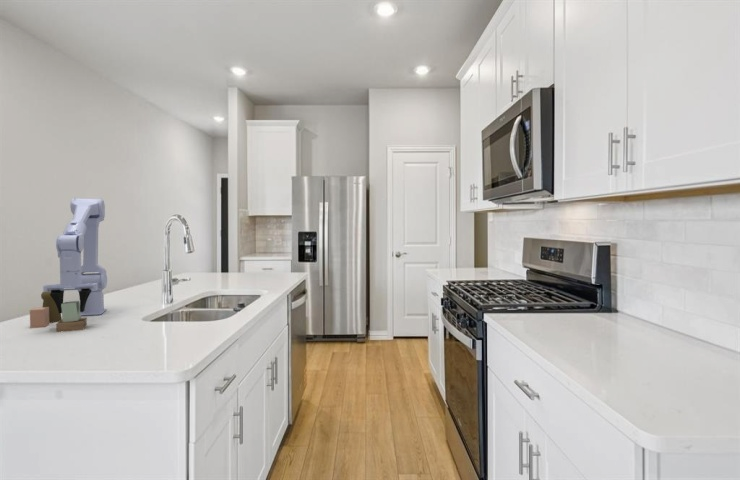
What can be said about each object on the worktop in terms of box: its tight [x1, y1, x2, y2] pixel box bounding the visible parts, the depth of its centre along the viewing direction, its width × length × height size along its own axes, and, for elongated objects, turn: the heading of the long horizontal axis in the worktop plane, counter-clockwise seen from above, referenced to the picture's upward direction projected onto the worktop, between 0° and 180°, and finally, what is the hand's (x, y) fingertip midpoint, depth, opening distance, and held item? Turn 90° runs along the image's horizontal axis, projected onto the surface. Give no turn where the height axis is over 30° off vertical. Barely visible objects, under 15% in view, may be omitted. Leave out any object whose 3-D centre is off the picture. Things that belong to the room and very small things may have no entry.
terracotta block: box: [29, 306, 50, 329], centre depth 138 cm, size 4×4×6 cm
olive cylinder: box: [40, 291, 62, 324], centre depth 145 cm, size 6×6×11 cm
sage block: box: [61, 300, 82, 322], centre depth 135 cm, size 4×4×6 cm
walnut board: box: [55, 317, 88, 333], centre depth 136 cm, size 7×7×3 cm
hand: (71, 312), depth 135 cm, fingers open, 5 cm apart
